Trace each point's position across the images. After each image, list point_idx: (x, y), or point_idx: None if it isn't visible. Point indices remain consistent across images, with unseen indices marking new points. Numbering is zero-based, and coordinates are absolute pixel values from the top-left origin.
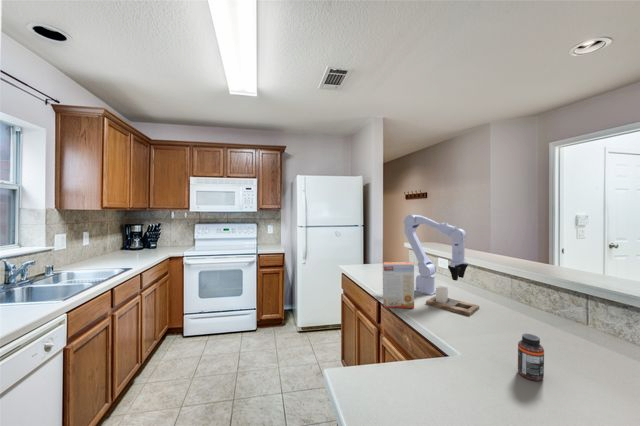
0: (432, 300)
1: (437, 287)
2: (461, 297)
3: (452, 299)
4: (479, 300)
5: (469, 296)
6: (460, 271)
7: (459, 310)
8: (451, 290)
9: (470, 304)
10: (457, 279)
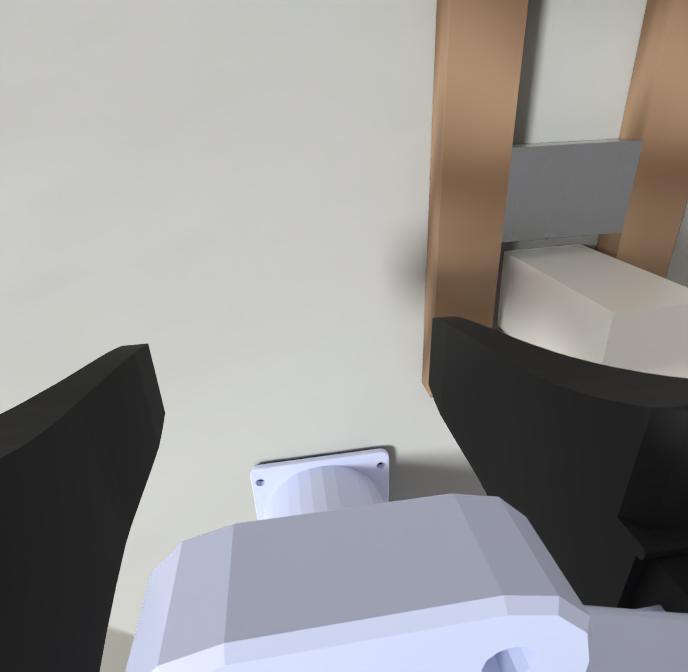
0: None
1: None
2: (202, 252)
3: (447, 246)
4: (111, 44)
5: (77, 207)
6: (114, 475)
7: None
8: None
9: (483, 15)
10: (443, 320)
